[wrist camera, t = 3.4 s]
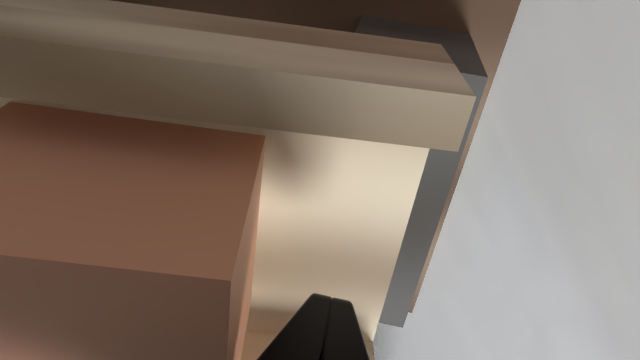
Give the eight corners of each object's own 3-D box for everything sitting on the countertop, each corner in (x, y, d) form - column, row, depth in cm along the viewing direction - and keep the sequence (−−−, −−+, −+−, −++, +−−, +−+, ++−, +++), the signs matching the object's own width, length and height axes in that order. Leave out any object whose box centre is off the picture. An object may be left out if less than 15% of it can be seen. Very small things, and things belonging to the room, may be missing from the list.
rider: (250, 303, 12) (220, 467, 9) (53, 282, 12) (-56, 444, 8) (265, 135, 9) (231, 280, 6) (10, 101, 9) (-179, 234, 6)
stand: (411, 294, 19) (412, 508, 13) (-112, 183, 21) (-355, 319, 14) (541, -89, 12) (716, -59, 5) (-297, -216, 13) (-1003, -321, 7)
